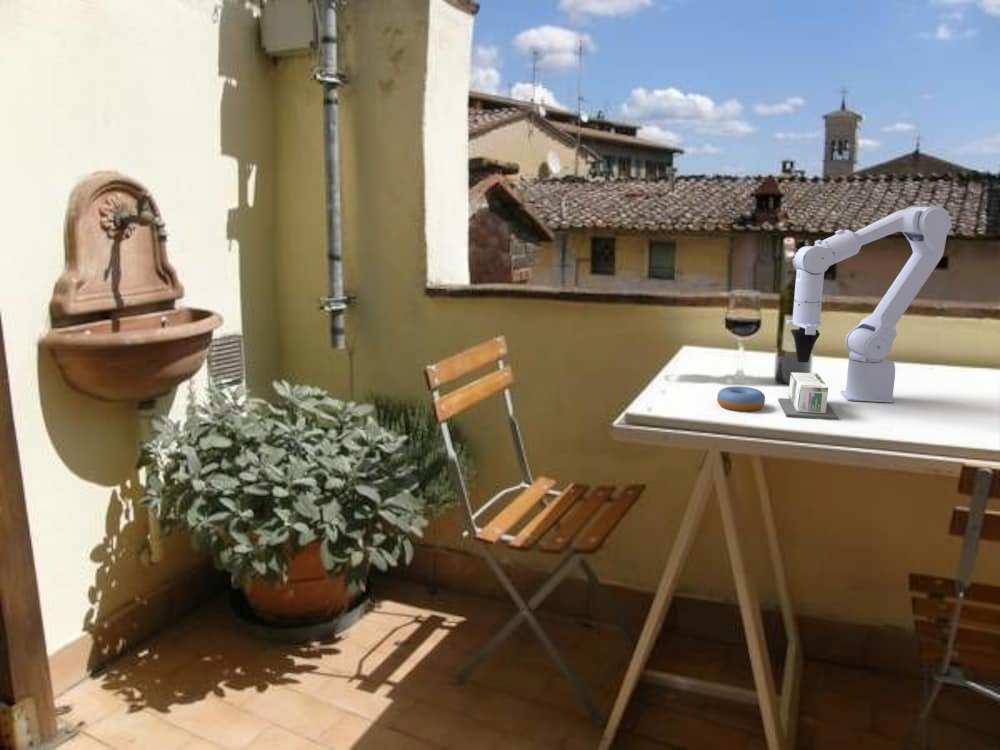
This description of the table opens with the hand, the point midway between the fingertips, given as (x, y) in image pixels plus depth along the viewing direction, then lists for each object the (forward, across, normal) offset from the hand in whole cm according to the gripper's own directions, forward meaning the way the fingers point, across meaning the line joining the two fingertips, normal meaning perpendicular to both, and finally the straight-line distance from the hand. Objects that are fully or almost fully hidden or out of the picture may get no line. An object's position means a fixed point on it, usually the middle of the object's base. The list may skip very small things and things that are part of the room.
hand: (802, 361), depth 176 cm
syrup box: (+5, +1, 0) cm, 5 cm away
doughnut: (+9, +11, -14) cm, 19 cm away
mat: (+8, +11, 0) cm, 14 cm away
